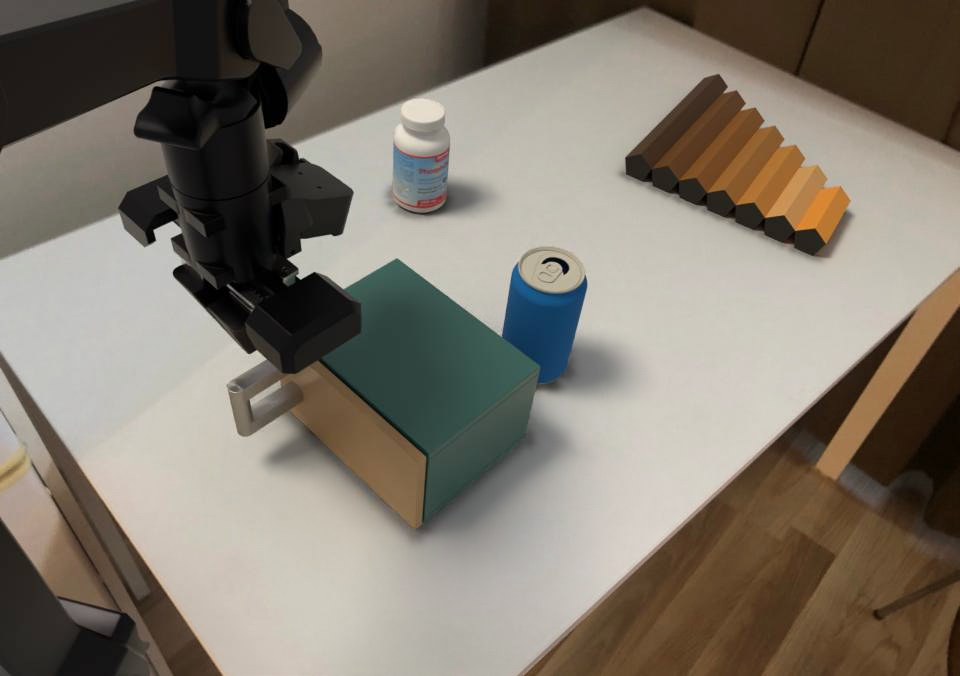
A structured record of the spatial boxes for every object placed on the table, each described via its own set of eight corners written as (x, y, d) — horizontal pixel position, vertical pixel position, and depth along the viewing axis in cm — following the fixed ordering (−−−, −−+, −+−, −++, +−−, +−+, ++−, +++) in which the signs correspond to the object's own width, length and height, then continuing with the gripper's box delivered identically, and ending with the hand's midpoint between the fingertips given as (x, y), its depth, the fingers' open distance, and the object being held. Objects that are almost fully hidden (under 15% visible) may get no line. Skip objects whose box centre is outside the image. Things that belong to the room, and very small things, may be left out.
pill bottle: (425, 222, 87) (430, 133, 79) (381, 200, 89) (381, 111, 81) (456, 195, 91) (463, 108, 83) (413, 175, 93) (416, 88, 85)
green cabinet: (424, 523, 62) (429, 453, 55) (293, 399, 69) (283, 323, 62) (525, 438, 69) (541, 366, 62) (395, 332, 76) (397, 257, 69)
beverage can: (578, 357, 76) (603, 263, 67) (545, 400, 72) (567, 307, 63) (520, 327, 78) (537, 232, 69) (485, 367, 74) (498, 272, 65)
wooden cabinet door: (358, 578, 59) (354, 513, 52) (226, 441, 66) (208, 369, 59) (422, 524, 62) (426, 456, 55) (290, 400, 69) (280, 326, 62)
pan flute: (699, 91, 112) (621, 171, 97) (707, 69, 110) (627, 148, 95) (875, 159, 104) (818, 258, 89) (886, 136, 102) (831, 235, 87)
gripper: (429, 191, 47) (420, 364, 58) (241, 64, 55) (265, 238, 66) (274, 276, 41) (298, 450, 52) (87, 120, 49) (143, 300, 60)
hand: (251, 348), depth 58 cm, fingers closed
